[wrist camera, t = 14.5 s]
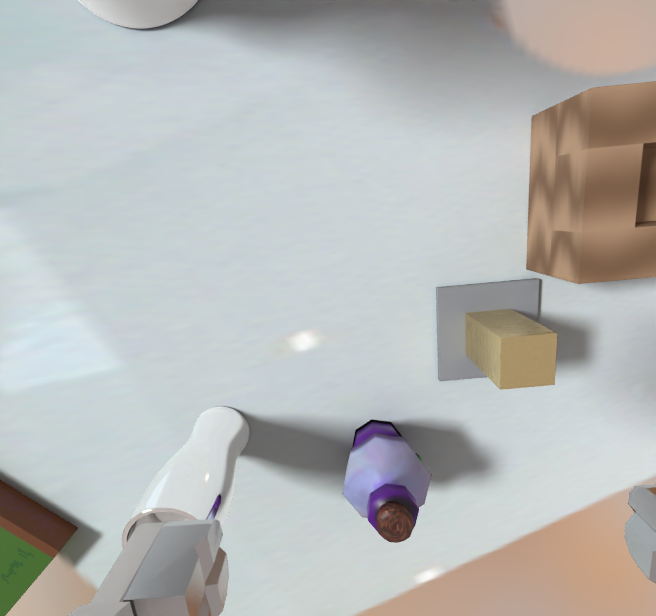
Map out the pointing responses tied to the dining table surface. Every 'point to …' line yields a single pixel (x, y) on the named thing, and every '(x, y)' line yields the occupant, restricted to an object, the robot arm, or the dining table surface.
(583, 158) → the wooden slotted box
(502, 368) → the tan wooden block
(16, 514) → the hardcover book
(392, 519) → the potion bottle
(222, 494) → the beer glass
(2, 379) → the dining table surface
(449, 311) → the slate pad
